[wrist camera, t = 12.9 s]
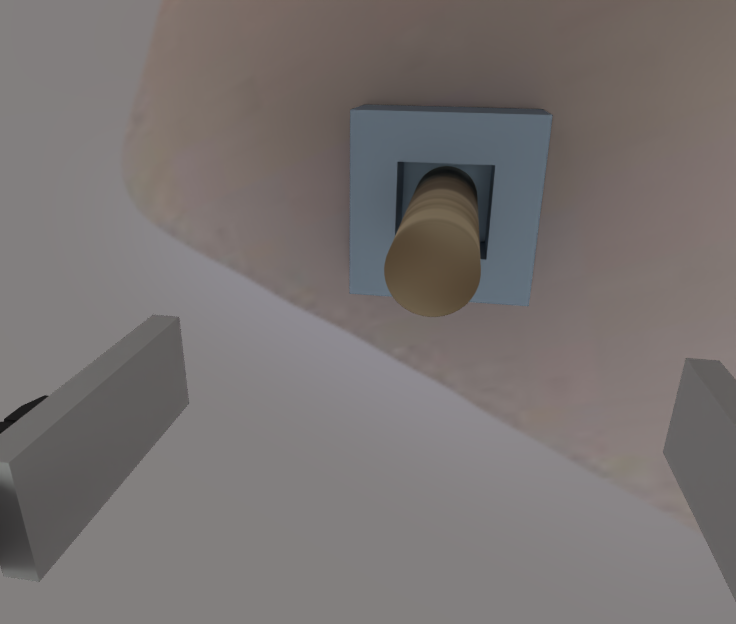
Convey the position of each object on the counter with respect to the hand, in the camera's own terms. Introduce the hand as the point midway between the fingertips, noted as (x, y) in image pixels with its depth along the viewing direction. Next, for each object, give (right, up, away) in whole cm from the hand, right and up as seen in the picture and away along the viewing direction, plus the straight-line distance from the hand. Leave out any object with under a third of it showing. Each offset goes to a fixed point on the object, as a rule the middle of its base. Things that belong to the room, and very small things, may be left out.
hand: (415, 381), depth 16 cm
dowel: (+4, +9, +23) cm, 25 cm away
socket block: (+4, +10, +24) cm, 26 cm away
